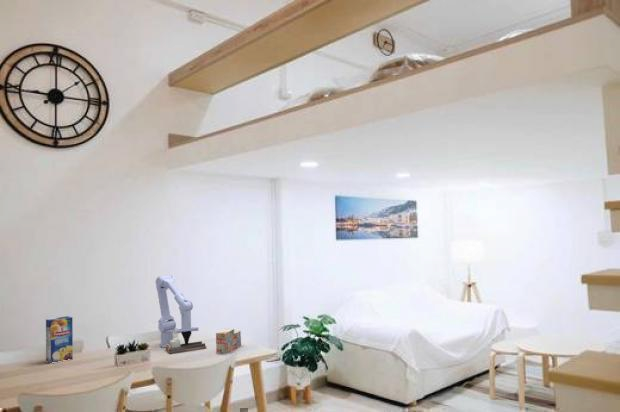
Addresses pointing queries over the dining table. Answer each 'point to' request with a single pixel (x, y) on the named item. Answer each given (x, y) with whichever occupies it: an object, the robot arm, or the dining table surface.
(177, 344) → the sage block
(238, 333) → the stack of blocks
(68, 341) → the blue food box
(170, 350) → the chute
